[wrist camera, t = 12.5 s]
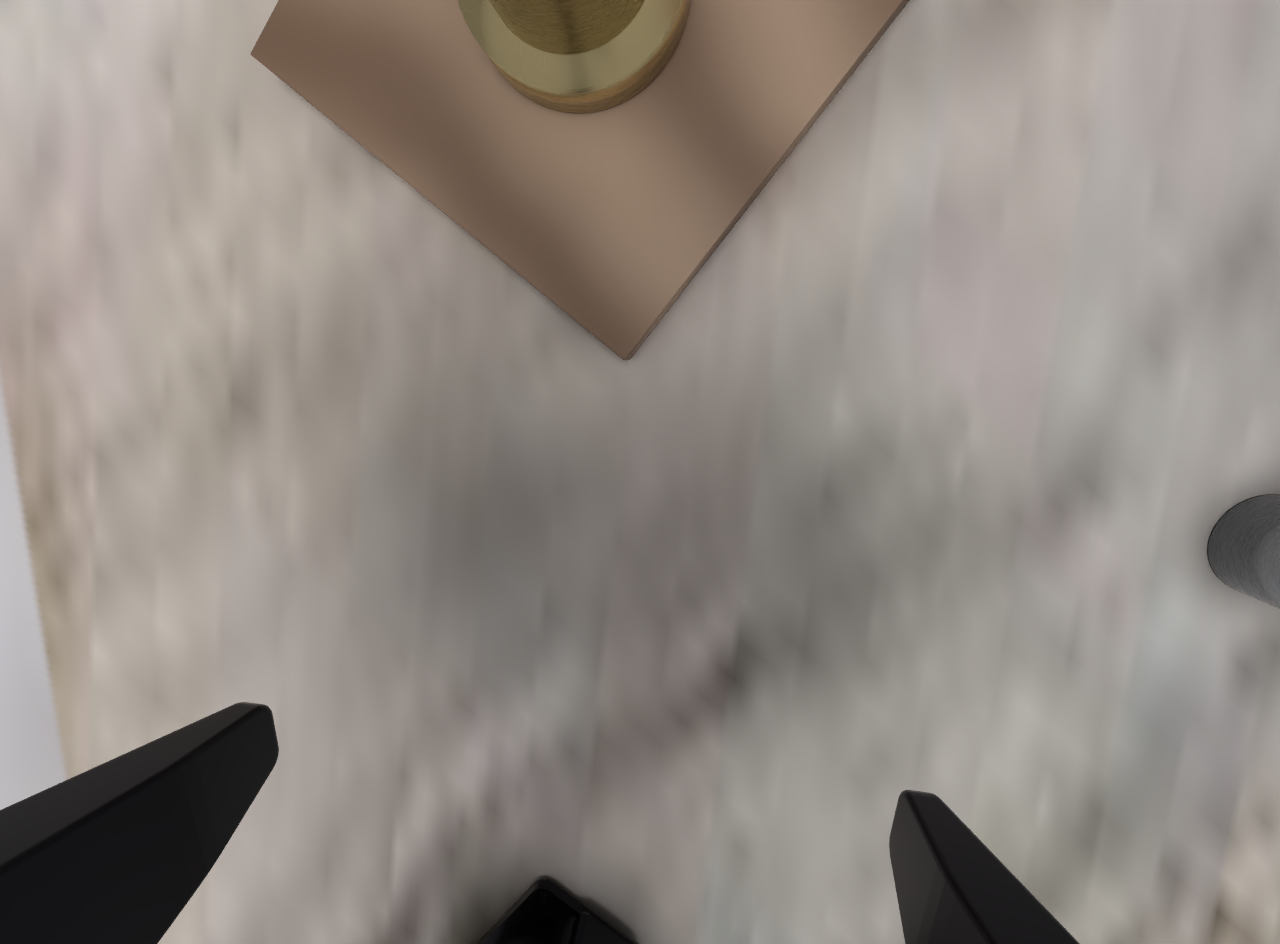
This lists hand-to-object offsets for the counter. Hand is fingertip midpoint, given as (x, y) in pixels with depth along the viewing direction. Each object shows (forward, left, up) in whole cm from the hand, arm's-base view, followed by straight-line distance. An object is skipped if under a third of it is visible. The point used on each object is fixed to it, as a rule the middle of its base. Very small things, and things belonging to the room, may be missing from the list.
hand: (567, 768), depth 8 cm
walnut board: (+11, +11, -12) cm, 20 cm away
